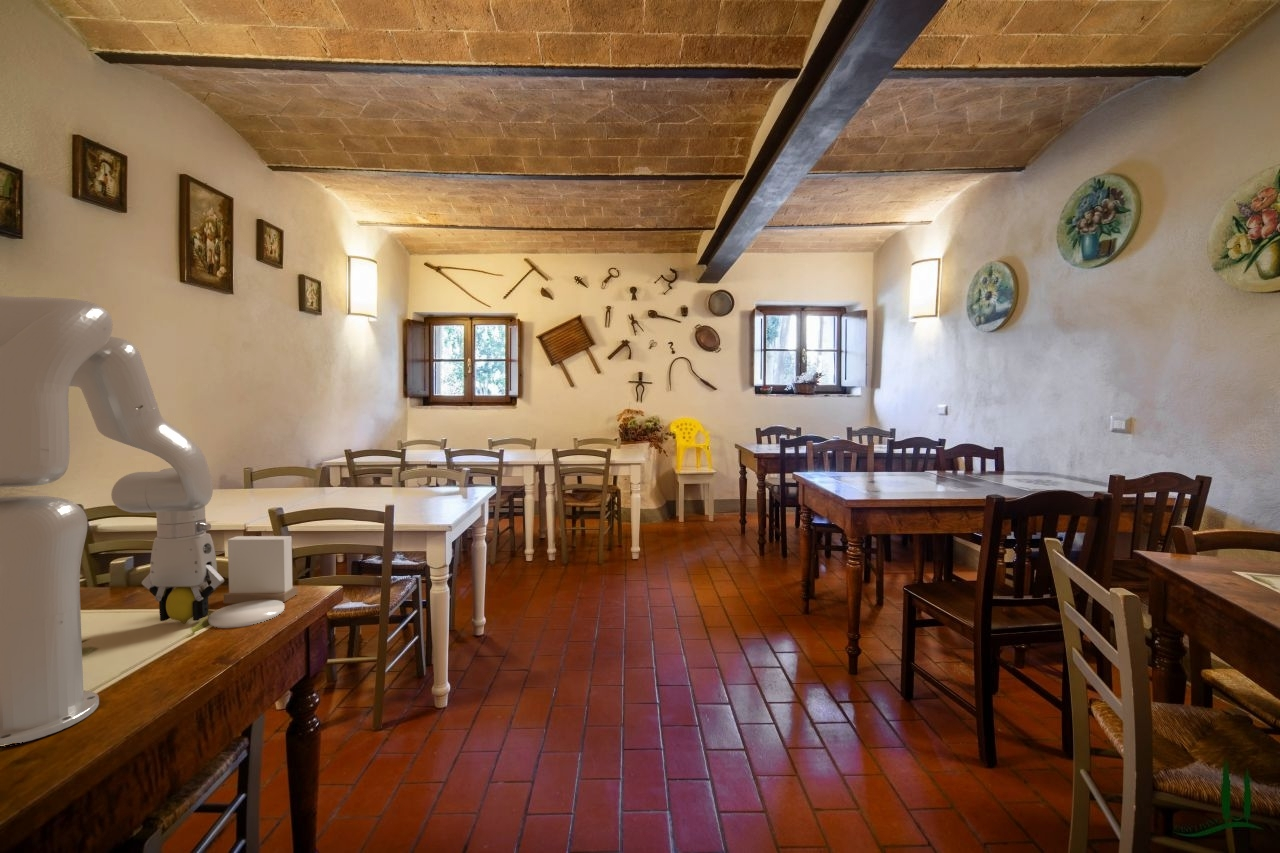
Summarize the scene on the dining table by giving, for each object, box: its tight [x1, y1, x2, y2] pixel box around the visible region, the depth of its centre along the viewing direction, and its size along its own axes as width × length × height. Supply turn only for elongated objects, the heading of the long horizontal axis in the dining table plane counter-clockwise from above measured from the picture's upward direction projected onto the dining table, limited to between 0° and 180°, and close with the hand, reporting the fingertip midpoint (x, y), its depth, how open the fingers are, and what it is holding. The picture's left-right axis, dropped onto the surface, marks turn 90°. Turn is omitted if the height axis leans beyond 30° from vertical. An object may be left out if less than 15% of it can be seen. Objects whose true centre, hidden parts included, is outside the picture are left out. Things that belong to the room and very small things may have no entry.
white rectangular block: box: [223, 535, 298, 604], centre depth 125 cm, size 5×13×14 cm, turn 93°
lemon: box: [166, 587, 196, 624], centre depth 111 cm, size 6×6×8 cm
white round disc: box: [207, 600, 286, 629], centre depth 116 cm, size 13×13×1 cm
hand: (184, 617), depth 111 cm, fingers closed on lemon, 5 cm apart
